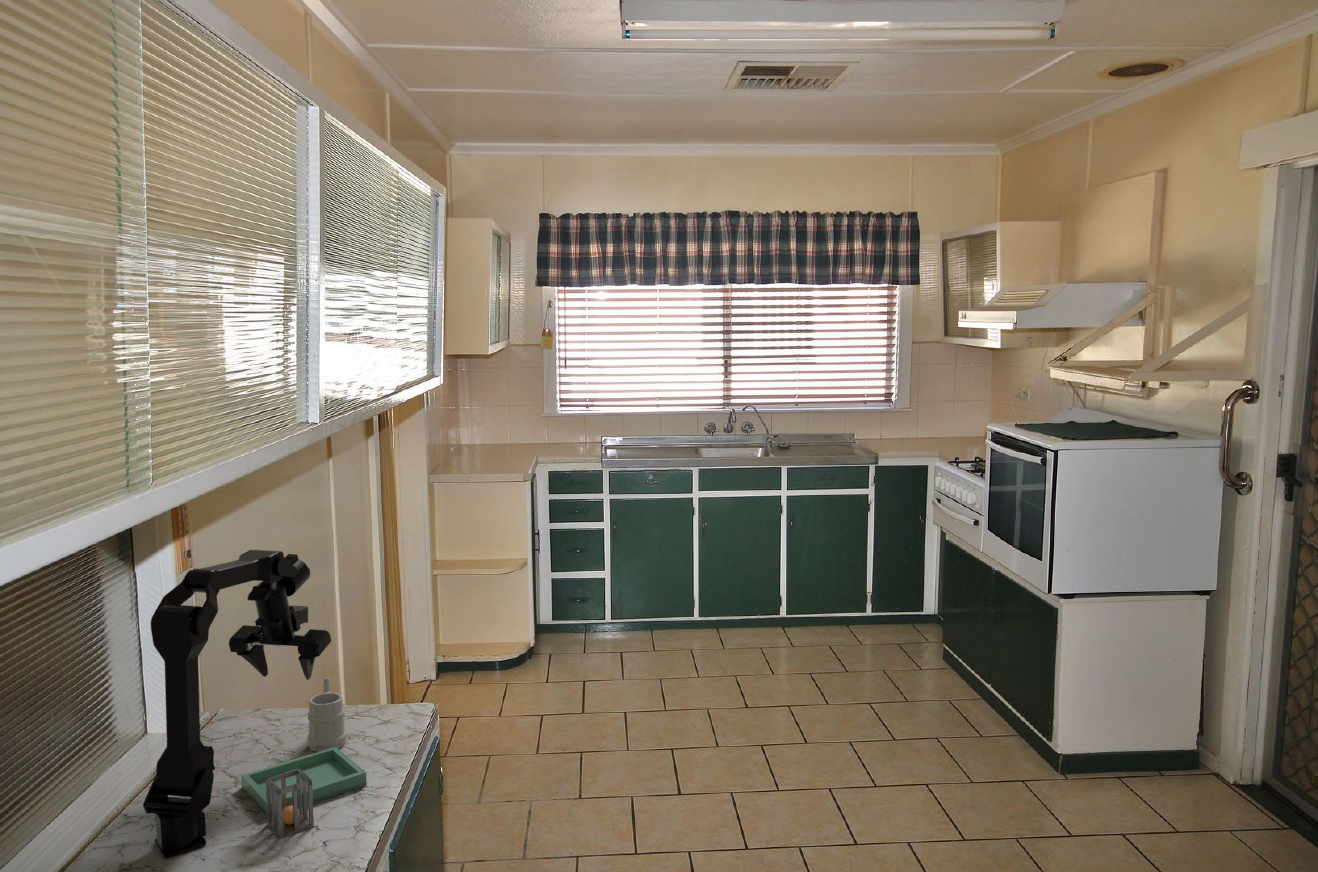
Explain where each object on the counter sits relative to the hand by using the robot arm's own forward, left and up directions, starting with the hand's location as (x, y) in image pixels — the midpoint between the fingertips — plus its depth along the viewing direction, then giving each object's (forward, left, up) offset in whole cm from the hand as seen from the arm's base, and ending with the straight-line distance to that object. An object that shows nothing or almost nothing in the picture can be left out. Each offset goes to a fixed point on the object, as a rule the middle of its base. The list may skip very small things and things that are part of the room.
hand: (287, 677), depth 191 cm
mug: (+8, 0, -16) cm, 17 cm away
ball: (-10, -28, -14) cm, 33 cm away
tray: (-3, -16, -15) cm, 23 cm away
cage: (-10, -28, -16) cm, 34 cm away
